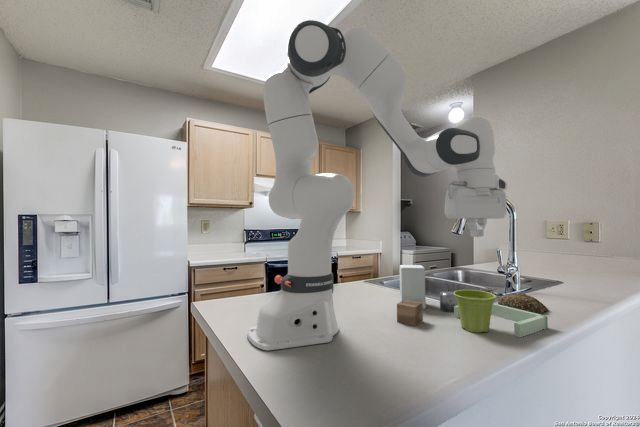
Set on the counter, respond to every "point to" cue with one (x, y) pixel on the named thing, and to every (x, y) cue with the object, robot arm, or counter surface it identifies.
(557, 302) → the counter surface
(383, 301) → the counter surface
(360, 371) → the counter surface
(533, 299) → the bread roll
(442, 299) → the metal tin
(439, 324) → the counter surface
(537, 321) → the corral
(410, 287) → the supplement box
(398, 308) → the walnut block
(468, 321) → the plant pot
